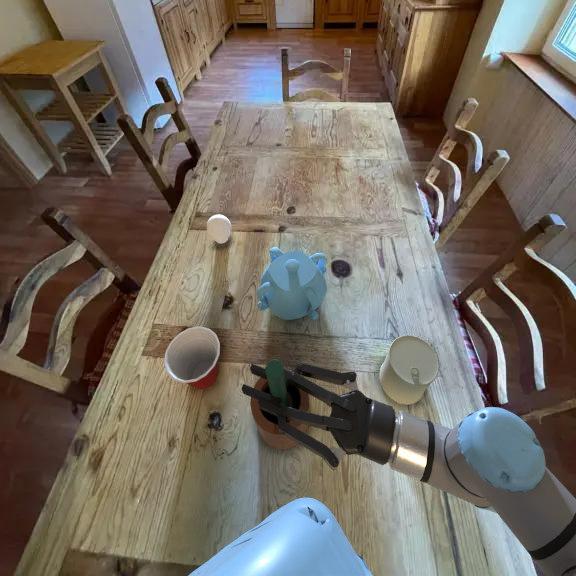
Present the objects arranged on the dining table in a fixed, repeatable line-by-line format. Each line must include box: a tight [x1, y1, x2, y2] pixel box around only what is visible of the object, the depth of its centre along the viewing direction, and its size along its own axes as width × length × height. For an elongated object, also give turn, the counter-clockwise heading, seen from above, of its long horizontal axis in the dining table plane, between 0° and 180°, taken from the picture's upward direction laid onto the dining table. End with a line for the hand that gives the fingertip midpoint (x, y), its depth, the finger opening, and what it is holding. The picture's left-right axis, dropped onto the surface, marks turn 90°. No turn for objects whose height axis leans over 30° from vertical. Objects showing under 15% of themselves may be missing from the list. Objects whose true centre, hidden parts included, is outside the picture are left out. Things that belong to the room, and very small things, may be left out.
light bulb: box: [206, 213, 233, 248], centre depth 96 cm, size 7×7×11 cm
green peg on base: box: [264, 358, 294, 424], centre depth 56 cm, size 4×4×22 cm
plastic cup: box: [163, 325, 221, 390], centre depth 70 cm, size 11×11×12 cm
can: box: [378, 334, 440, 406], centre depth 67 cm, size 9×9×12 cm
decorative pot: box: [256, 246, 328, 321], centre depth 82 cm, size 16×16×14 cm
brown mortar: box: [249, 368, 310, 451], centre depth 63 cm, size 10×10×13 cm
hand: (247, 378), depth 57 cm, fingers closed on green peg on base, 3 cm apart
